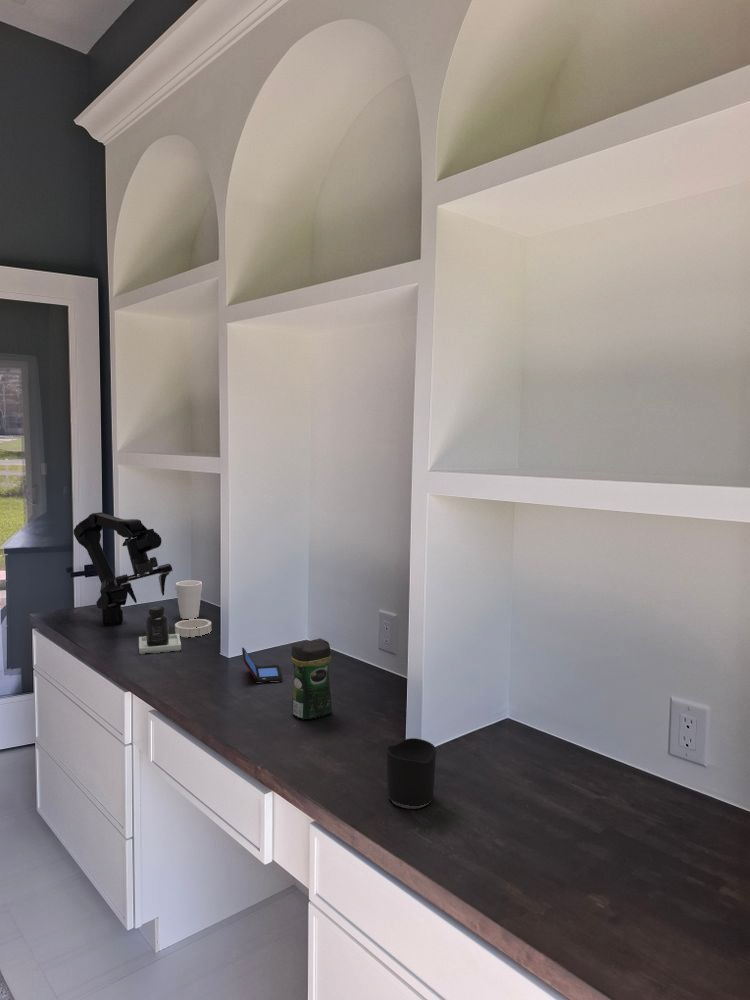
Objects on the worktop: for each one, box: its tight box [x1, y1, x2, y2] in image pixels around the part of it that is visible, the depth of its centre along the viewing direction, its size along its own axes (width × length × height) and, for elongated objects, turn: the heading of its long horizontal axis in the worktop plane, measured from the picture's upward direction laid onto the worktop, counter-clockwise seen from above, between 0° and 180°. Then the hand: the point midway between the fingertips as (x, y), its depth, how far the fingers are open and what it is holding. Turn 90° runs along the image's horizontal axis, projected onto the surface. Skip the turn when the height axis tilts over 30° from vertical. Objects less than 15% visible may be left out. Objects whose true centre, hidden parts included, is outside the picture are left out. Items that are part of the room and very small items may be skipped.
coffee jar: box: [290, 637, 333, 720], centre depth 175 cm, size 10×8×19 cm
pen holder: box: [386, 737, 437, 806], centre depth 135 cm, size 9×9×10 cm
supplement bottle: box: [145, 606, 170, 647], centre depth 227 cm, size 7×7×12 cm
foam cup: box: [175, 579, 203, 620], centre depth 262 cm, size 10×9×13 cm
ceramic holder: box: [174, 618, 212, 638], centre depth 244 cm, size 12×12×3 cm
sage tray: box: [138, 633, 182, 655], centre depth 228 cm, size 13×13×2 cm
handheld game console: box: [241, 647, 283, 682], centre depth 202 cm, size 12×11×7 cm
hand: (149, 599), depth 242 cm, fingers open, 9 cm apart
